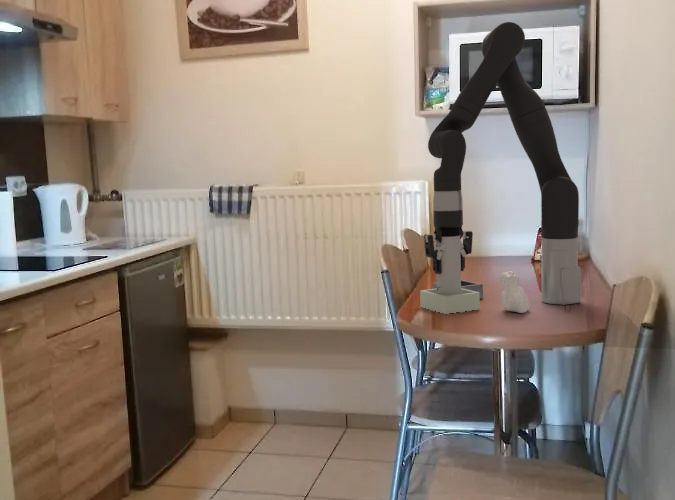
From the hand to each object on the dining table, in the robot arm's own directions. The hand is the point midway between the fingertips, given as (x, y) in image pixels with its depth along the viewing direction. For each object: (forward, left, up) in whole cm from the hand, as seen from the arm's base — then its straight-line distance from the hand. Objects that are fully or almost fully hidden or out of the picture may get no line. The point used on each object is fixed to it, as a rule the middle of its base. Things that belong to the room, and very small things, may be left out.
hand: (449, 272), depth 184 cm
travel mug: (0, 0, -7) cm, 7 cm away
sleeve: (+11, -10, -10) cm, 18 cm away
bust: (-12, -11, -10) cm, 19 cm away
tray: (0, 0, -10) cm, 10 cm away
